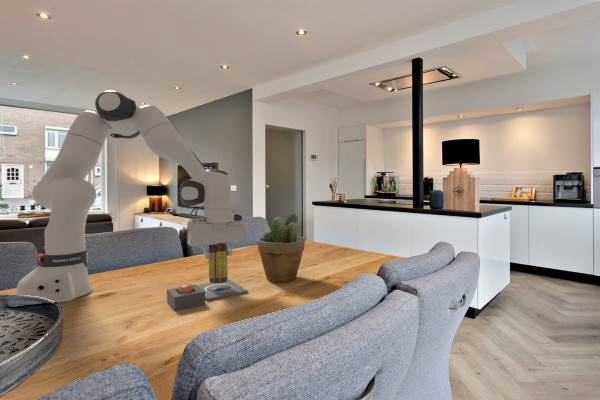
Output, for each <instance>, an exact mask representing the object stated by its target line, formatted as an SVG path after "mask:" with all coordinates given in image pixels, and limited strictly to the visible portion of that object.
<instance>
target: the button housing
mask: <svg viewBox="0 0 600 400" xmlns="http://www.w3.org/2000/svg"><path fill="white" fill-rule="evenodd" d="M192 285H193V292H189V293H183V294H179V292H178V287H172V288H167V289H166V302H167V304H168V305H169V306H170V307H171V308H172V309H173V311H181V310H184V309H190V308H195V307H200V306H205V305H206V300H205V291H204V290H202V289H201V288H200V287H198V286H197V285H198V284H192Z"/></svg>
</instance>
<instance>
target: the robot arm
mask: <svg viewBox="0 0 600 400" xmlns="http://www.w3.org/2000/svg"><path fill="white" fill-rule="evenodd" d="M94 104H95V105H94V106H95V110H96V111H92V110H84V111H81V112H80V113H78V114H77V116H76V117H75V119H74V120H73V122H72V124H71V126H70V127H69V129H68V131H67V133H66V135H65V138H64V140H63V141H62V142H63V143H62V144H61V146H60V150H59V152H58V154H57V156H56V157H55V159H54V161H53V162H52V164H51V165H49V168H48V170H46V172H45V173H44V175H43V176H42V177H41V179H40V180H39V182H37V183H36V184H35V185H34V187H33V188H32V191H31V195H32V199H33V200H34V201H35V203H36V204H37V205H39V206H40V207H42V208H45V209H47V210H50V216H49V220H48V223H47V225H46V227H45V229H44V233H43V234H44V251H45V253H38V254H37V255H36V260H37V266H36V267H35V268H34V269H33V270H32V271H30V272H29V273H27V274H26V275H25V276H24V277H22V278H21V279H20V280H19V281H18V283H17V286H16V289H15V294H16V295H31V296H39V297H44V298H47V299H50V300H52V301H55V302H57V303H56V304H58V303H64V302H71V301H73V300H75V299H77V298H80V297H82V296H85V295H88V294H89V293H91V292H92V291H93V287H92V284H91V282H90V278H89V277H90V276H89V273H88V264H89V262H88V260H89V259H88V250H87V249H86V226H87V218H88V214H89V212H90V209H91V207H92V206H93V204H94V203H95V201H96V198H97V191H96V188H95V187H94V185H93V184H92V183H91V182H90V181H87V180H86V179H85V178H86V177H87V176H88V175H89V173H91V172H92V171H94V169H95V168H96V165H97V163H98V160H99V157H100V154H101V153H102V149H103V148H104V147H103V146H104V144H105V141H106V139H107V137H109V136H110V137H112V138H113V139H125V140H126V139H127V140H129V139H135V138H137V137H139V136H140V135H141V137H142V138H143V140H144V142H145V144H146V145H147V147H148V148H149V149H150V150H151V152H153V153H154V155H156V156H157V157H160V158H162V159H165V160H169V161H171V162H173V163H175V164H177V165H180V166H181V167H182V168H183V169H184V170H185V171H186V172H187V174H188V175H189V176H190V178H189V179H186V180H184V181H183V182H182V183H181V184H180V186H179V188H178V198H179V200H180V202H181V203H182V204H183V205H184V206H186V207H190V208H191V207H192V208H194V207H204V217H198V218H197V217H193V218H191V219H190V220H188V221H187V224H186V225H187V227H186V228H187V244H188V246H190V247H192V248H195V247H200V248H201V250H202V252H203V253H204V258H205V259H207V260H209V258H211V256H210V255H211V253H209V251H207V249H208V246H209V245H215V244H218V243H226V244H228V245H229V247H228V248H227V257H228V256H229V257H230V256H232V255H233V250H234V248H235V246H236V243H239V242H240V243H241V242H246V240H247V239H248V231H247V225H246V223H245V219H246V218H245V215H243V214H241V213H237V212H235V211H232V207H231V206H232V205H231V203H230V201H231V196H232V190H231V189H232V188H231V180H230V175H229V174H228V172H226V171H224V170H222V169H214V168H206V166H205V165H204V164H203V163H202V162H201V160H200V159H199V158H198V157H197V156H198V155H196V154H195V152H194V151H193V150H192V149H191V148H190V147H189V146H188V145H187V144H186V142H185V141H184V140H183V138H182V137H181V136H180V134H179V133H178V132H177V130H176V128H174V126H173V124H172V122H171V121H170V120H169V118H168V117H167V115H165V114H164V112H163V111H162V110H161V109H160V108H159V107H157V106H156V105H153V104H146V105H143V106H137V104H136V101H135V100H133V99H131V98H130V97H127V96H126V95H125V94H123V93H121V92H119V91H116V90H113V89H112V90H111V89H109V90H104V91H102V92H100V93H99V94H98V95H97V97H96V99H95V102H94Z"/></svg>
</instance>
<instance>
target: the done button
mask: <svg viewBox="0 0 600 400" xmlns="http://www.w3.org/2000/svg"><path fill="white" fill-rule="evenodd" d="M193 285H194V284H192V283H184V284H183V283H182V284H179V285H178V292H179V294H183V293H189V292H193Z"/></svg>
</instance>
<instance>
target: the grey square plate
mask: <svg viewBox="0 0 600 400" xmlns="http://www.w3.org/2000/svg"><path fill="white" fill-rule="evenodd" d="M196 285H197V286H198V287H200V288H201V289H202V290H204V291H205V302H209V301H214V300H219V299H224V298H229V297H234V296H239V295H244V294H248V292H249V290H248V289H246V288H245V287H243V286H240V285H239V284H238V283H235V282H234V281H232V280H231V279H227V282H224V283H210V282H207V283H206V282H205V283H201V284H196Z"/></svg>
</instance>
